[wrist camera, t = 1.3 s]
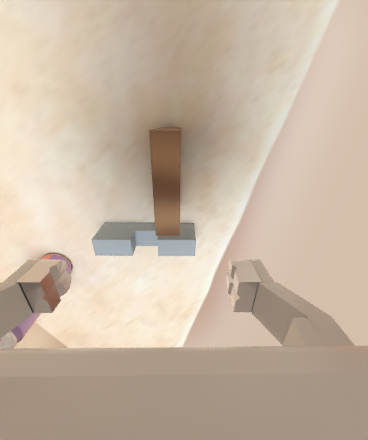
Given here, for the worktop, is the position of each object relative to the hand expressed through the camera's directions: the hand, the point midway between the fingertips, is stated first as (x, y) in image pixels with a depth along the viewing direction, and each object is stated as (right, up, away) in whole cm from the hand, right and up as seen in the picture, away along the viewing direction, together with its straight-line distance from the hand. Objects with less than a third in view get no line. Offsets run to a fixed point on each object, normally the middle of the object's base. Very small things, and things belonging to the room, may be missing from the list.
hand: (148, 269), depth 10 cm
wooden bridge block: (0, +10, +20) cm, 23 cm away
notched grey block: (-4, +1, +25) cm, 26 cm away
